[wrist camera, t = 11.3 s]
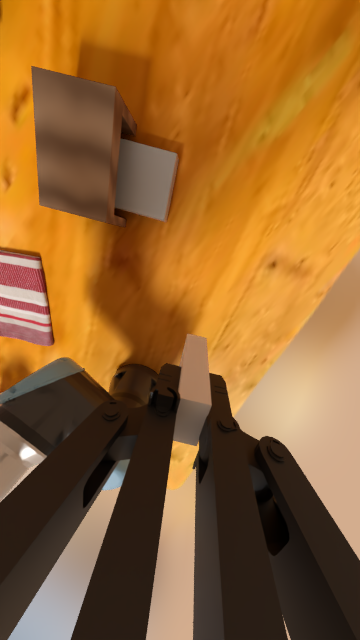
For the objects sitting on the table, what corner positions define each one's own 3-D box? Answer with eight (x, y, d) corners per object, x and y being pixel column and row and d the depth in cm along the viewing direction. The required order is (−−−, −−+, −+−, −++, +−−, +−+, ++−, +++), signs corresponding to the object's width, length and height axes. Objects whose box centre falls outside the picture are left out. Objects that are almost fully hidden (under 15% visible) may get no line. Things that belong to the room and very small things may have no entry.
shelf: (125, 227, 37) (106, 222, 30) (72, 213, 37) (39, 205, 30) (136, 125, 31) (115, 86, 23) (72, 108, 31) (31, 65, 24)
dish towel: (1, 332, 52) (-9, 336, 50) (-23, 245, 43) (-36, 245, 41) (56, 343, 51) (49, 348, 49) (44, 257, 42) (34, 257, 40)
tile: (166, 222, 36) (163, 220, 34) (81, 199, 37) (71, 195, 34) (179, 161, 32) (176, 153, 30) (83, 135, 33) (72, 125, 30)
